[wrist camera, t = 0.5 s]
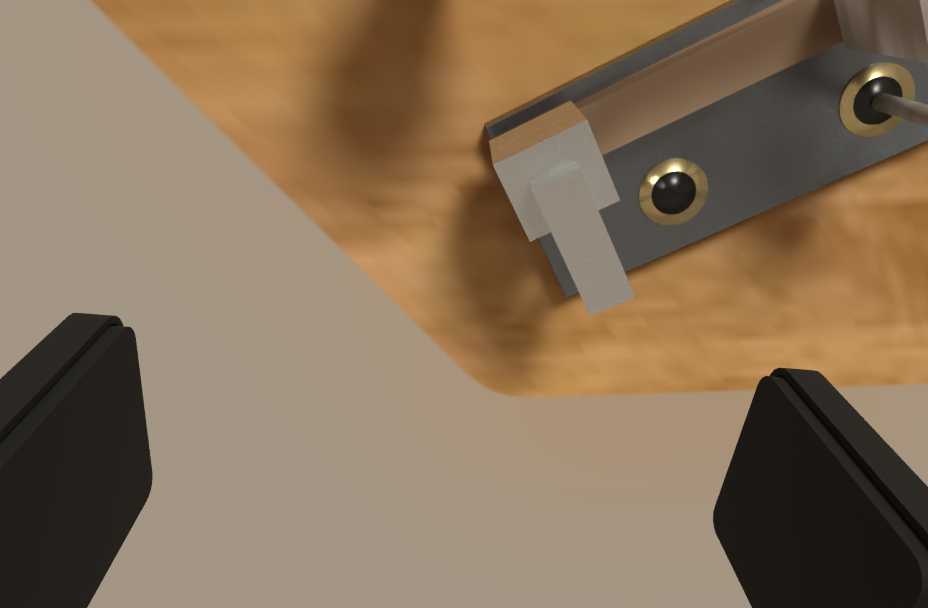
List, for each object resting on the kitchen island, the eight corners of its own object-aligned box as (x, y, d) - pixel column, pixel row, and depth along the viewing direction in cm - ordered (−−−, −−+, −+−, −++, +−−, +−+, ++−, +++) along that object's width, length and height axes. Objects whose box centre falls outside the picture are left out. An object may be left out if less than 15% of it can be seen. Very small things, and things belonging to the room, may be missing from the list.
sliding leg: (622, 229, 34) (658, 287, 28) (548, 262, 35) (568, 325, 28) (566, 95, 31) (592, 125, 25) (487, 134, 32) (494, 173, 26)
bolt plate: (978, 106, 33) (998, 111, 32) (563, 288, 37) (566, 298, 36) (944, -108, 29) (966, -111, 28) (485, 123, 33) (485, 129, 32)
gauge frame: (977, 65, 31) (1122, 90, 24) (556, 254, 35) (579, 322, 28) (952, -92, 28) (1108, -114, 21) (499, 132, 32) (509, 175, 26)
